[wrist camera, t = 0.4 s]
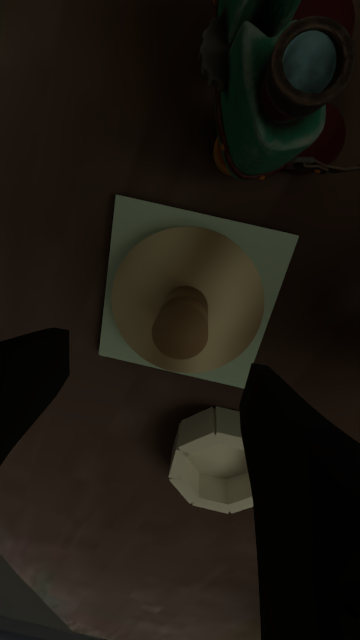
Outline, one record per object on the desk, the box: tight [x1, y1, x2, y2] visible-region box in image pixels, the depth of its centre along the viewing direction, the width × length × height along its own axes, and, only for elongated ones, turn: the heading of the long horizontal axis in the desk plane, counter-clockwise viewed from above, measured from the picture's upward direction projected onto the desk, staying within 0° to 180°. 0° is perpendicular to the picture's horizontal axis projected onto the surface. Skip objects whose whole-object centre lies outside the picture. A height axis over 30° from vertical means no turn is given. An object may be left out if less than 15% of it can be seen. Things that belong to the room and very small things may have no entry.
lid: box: [111, 226, 264, 373], centre depth 17 cm, size 10×10×6 cm
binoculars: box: [199, 0, 360, 180], centre depth 11 cm, size 9×11×10 cm
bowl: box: [169, 406, 253, 514], centre depth 24 cm, size 8×8×3 cm
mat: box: [99, 195, 299, 388], centre depth 20 cm, size 12×12×1 cm
